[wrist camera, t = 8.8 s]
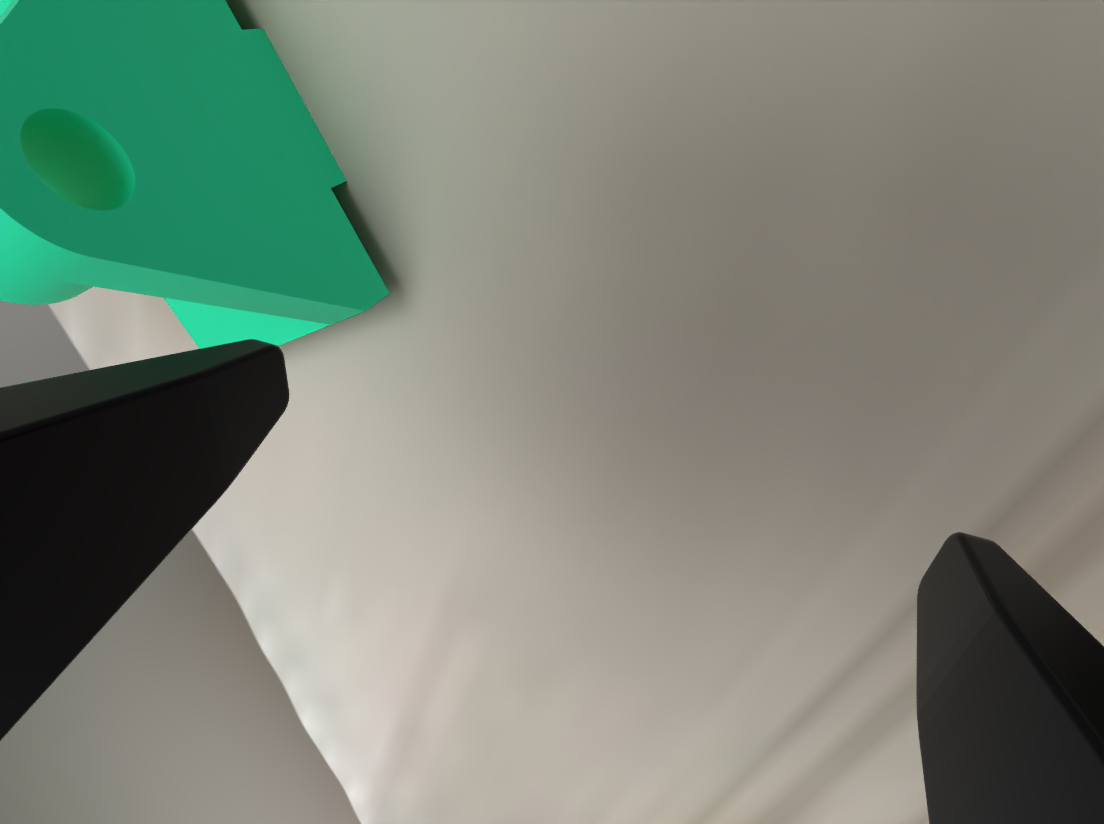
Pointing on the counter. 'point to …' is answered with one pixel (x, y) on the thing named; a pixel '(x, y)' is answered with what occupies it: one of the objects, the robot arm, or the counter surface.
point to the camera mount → (169, 171)
